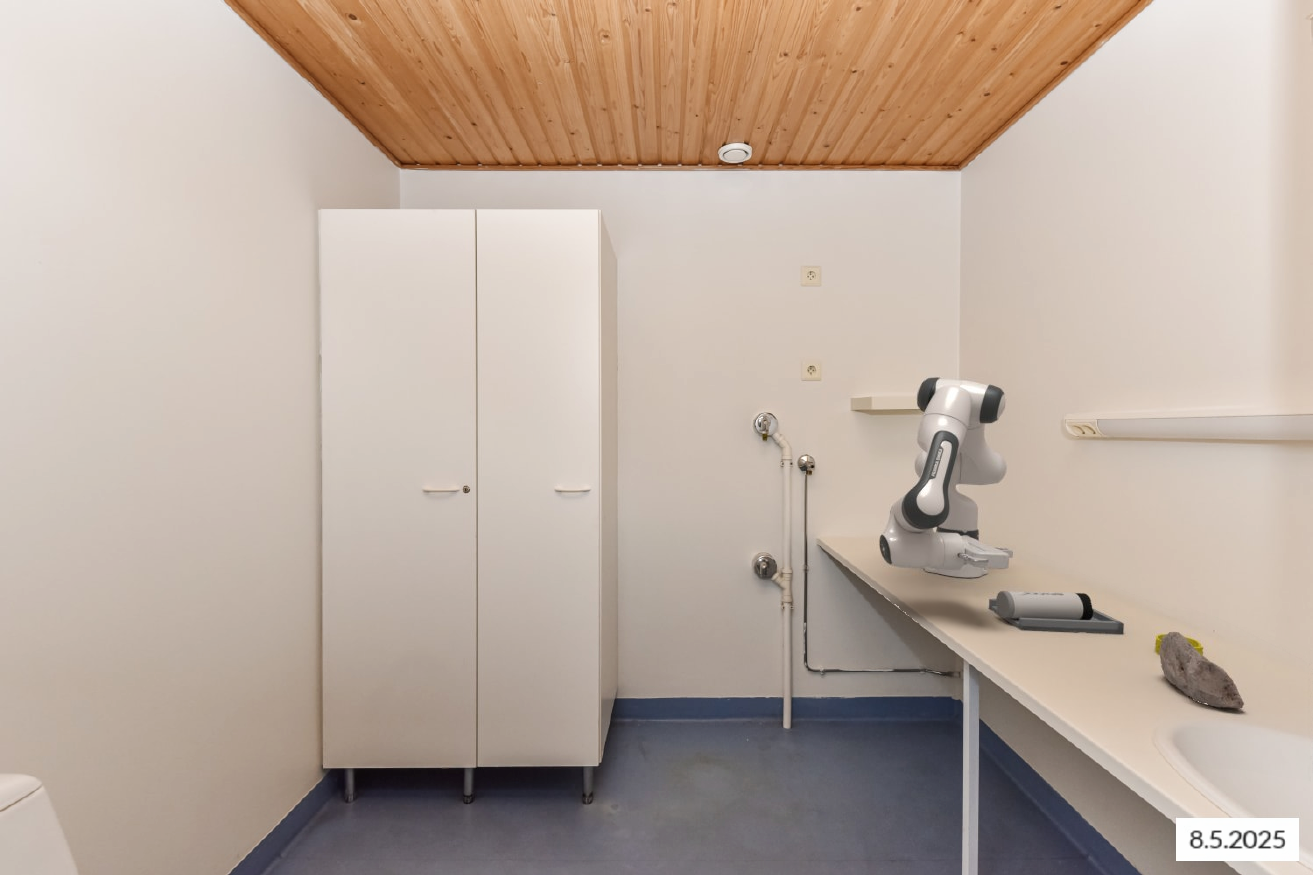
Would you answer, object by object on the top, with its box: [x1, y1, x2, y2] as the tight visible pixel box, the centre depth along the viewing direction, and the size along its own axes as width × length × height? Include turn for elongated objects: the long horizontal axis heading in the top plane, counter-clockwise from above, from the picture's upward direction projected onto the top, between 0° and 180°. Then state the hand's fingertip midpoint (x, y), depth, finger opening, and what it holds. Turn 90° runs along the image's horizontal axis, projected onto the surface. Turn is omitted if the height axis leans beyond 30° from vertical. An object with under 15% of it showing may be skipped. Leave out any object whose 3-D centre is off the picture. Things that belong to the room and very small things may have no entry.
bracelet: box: [1154, 633, 1204, 656], centre depth 125 cm, size 7×8×3 cm
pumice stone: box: [1159, 631, 1245, 710], centre depth 107 cm, size 15×8×10 cm, turn 162°
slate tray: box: [988, 598, 1125, 635], centre depth 146 cm, size 16×22×2 cm
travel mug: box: [995, 590, 1094, 620], centre depth 144 cm, size 6×7×20 cm
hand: (1010, 552), depth 146 cm, fingers closed
